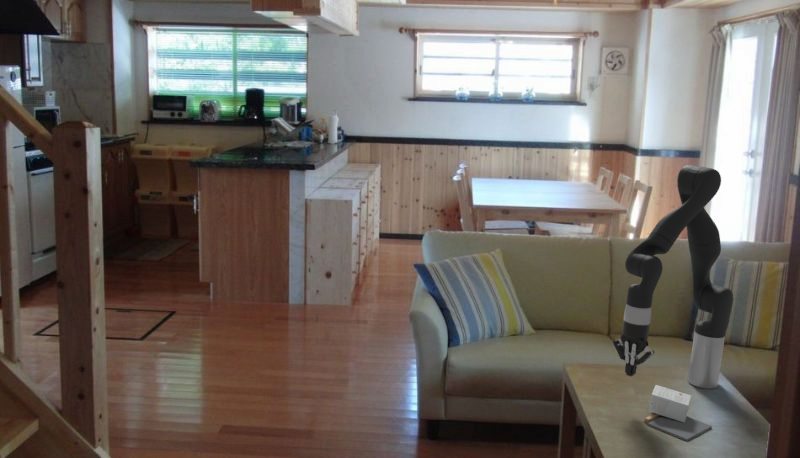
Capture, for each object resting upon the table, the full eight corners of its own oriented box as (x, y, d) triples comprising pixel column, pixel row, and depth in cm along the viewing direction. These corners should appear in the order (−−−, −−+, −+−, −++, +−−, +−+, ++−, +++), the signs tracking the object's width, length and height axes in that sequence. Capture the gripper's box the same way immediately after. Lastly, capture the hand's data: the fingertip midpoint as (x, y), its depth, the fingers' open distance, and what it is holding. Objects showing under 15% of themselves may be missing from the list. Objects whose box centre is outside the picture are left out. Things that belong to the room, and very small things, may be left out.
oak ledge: (666, 411, 227) (666, 407, 227) (669, 413, 226) (670, 409, 226) (644, 421, 219) (644, 418, 219) (648, 423, 218) (648, 419, 218)
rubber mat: (672, 412, 227) (673, 410, 226) (711, 427, 218) (711, 426, 218) (647, 424, 217) (647, 422, 217) (686, 441, 209) (687, 439, 209)
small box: (647, 411, 223) (684, 423, 219) (651, 393, 221) (689, 405, 217) (651, 401, 230) (687, 412, 226) (655, 384, 228) (692, 395, 224)
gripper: (664, 323, 223) (656, 379, 226) (623, 311, 232) (617, 365, 235) (650, 328, 218) (643, 385, 221) (610, 315, 227) (603, 370, 230)
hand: (629, 375), depth 228 cm, fingers closed
